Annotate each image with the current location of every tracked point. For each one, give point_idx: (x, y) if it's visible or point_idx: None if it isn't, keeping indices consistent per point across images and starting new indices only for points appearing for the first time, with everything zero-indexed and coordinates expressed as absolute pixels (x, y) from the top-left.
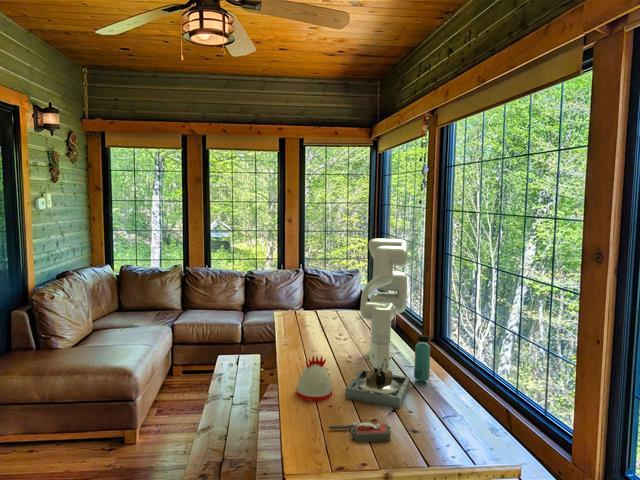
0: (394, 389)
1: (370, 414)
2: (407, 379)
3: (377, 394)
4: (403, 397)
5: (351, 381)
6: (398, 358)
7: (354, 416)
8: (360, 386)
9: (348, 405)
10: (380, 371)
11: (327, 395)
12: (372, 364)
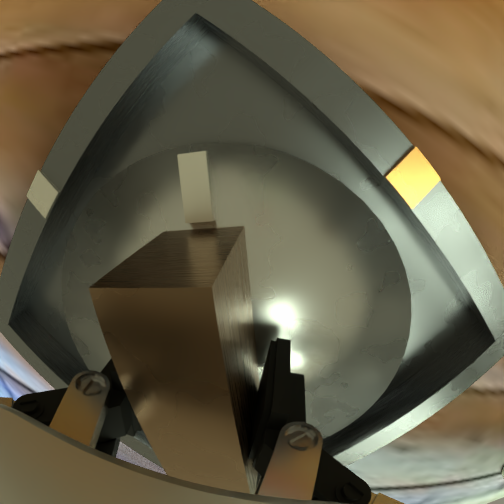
0: None
1: (3, 117)
2: None
3: (21, 216)
4: None
5: (349, 85)
6: (482, 486)
7: (16, 34)
8: (225, 144)
9: (113, 11)
10: (205, 454)
11: None
12: (185, 489)
